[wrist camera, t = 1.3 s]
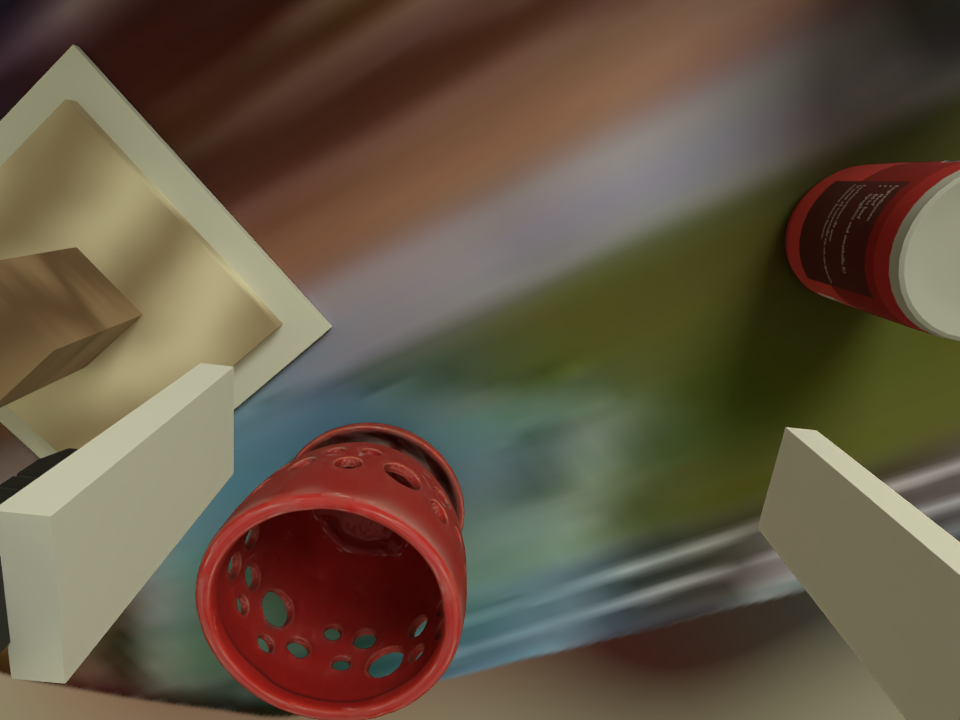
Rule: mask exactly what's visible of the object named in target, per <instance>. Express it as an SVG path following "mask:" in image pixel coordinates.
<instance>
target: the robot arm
mask: <svg viewBox="0 0 960 720" xmlns="http://www.w3.org/2000/svg"><path fill="white" fill-rule="evenodd" d="M233 465H234V367H232V366H223V365H214V364H205V363H200V364H199V365H197V366H196V367H194V368H193V369H192V370H190V371H189V372H187V373H186V374H185V375H183V376H182V377H180V378H179V379H177V380H176V381H175V382H173V383H172V384H170V385H169V386H168V387H166V388H165V389H163V390H162V391H160V392H159V393H158V394H156V395H155V396H153V397H152V398H151V399H149V400H148V401H146V402H145V403H143V404H142V405H141V406H139V407H138V408H136V409H135V410H134V411H132V412H131V413H129V414H128V415H126V416H125V417H124V418H122V419H121V420H119V421H118V422H117V423H115V424H114V425H112V426H111V427H109V428H108V429H107V430H105V431H104V432H102V433H101V434H100V435H98V436H97V437H95V438H94V439H92V440H91V441H90V442H88V443H87V444H85V445H84V446H83V447H81V448H80V449H73V448H68V449H65V450H62V451H60V452H57V453H54V454H51V455H49V456H46V457H43V458H41V459H38V460H37V461H35V462H34V463H32V464H31V465H29V466H28V467H26V468H25V469H23V470H22V471H20V472H19V473H17V477H15V476H13V477H11V478H10V479H8V480H7V481H5V482H4V483H2V484H1V485H0V652H1V651H2V650H3V649H4V648H5V647H6V646H7V645H8V652H9V661H10V669H11V678H12V679H22V680H32V681H43V682H54V683H66V682H67V681H68V680H69V678H70V677H71V676H72V675H73V673H74V672H75V671H76V670H77V668H78V667H79V666H80V665H81V663H82V662H83V661H84V660H85V658H86V657H87V656H88V655H89V653H90V652H91V651H92V650H93V648H94V647H95V646H96V645H97V643H98V642H99V641H100V640H101V638H102V637H103V636H104V635H105V633H106V632H107V631H108V630H109V628H110V627H111V626H112V625H113V623H114V622H115V621H116V620H117V618H118V617H119V616H120V615H121V613H122V612H123V611H124V610H125V608H126V607H127V606H128V605H129V603H130V602H131V601H132V600H133V598H134V597H135V596H136V595H137V593H138V592H139V591H140V590H141V588H142V587H143V586H144V585H145V583H146V582H147V581H148V580H149V578H150V577H151V576H152V575H153V573H154V572H155V571H156V570H157V568H158V567H159V566H160V565H161V563H162V562H163V561H164V560H165V558H166V557H167V556H168V555H169V553H170V552H171V551H172V550H173V548H174V547H175V546H176V545H177V543H178V542H179V541H180V540H181V538H182V537H183V536H184V535H185V533H186V532H187V531H188V530H189V528H190V527H191V526H192V525H193V523H194V522H195V521H196V520H197V518H198V517H199V516H200V515H201V513H202V512H203V511H204V510H205V508H206V507H207V506H208V505H209V503H210V502H211V501H212V500H213V498H214V497H215V496H216V495H217V493H218V492H219V491H220V490H221V488H222V487H223V486H224V485H225V483H226V482H227V481H228V480H229V478H230V477H231V476H232V475H233ZM758 529H759V530H760V531H761V533H762V534H763V535H764V537H765V538H766V539H767V540H768V542H769V543H770V544H771V546H772V547H773V548H774V549H775V551H776V552H777V553H778V555H779V556H780V557H781V559H782V560H783V561H784V562H785V564H786V565H787V566H788V568H789V569H790V570H791V571H792V573H793V574H794V575H795V577H796V578H797V579H798V581H799V582H800V583H801V584H802V586H803V587H804V588H805V590H806V591H807V592H808V593H809V595H810V596H811V597H812V599H813V600H814V601H815V603H816V604H817V605H818V606H819V608H820V609H821V610H822V611H823V613H824V614H825V615H826V617H827V618H828V619H829V621H830V622H831V623H832V625H833V626H834V627H835V628H836V630H837V631H838V632H839V634H840V635H841V636H842V637H843V639H844V640H845V641H846V643H847V644H848V645H849V646H850V648H851V649H852V650H853V652H854V653H855V654H856V656H857V657H858V658H859V659H860V661H861V662H862V663H863V665H864V666H865V667H866V669H867V670H868V671H869V672H870V674H871V675H872V676H873V678H874V679H875V680H876V681H877V683H878V684H879V685H880V687H881V688H882V689H883V691H884V692H885V693H886V694H887V696H888V697H889V698H890V699H891V701H892V702H893V703H894V704H895V706H896V707H897V709H898V710H899V711H900V712H901V714H902V715H903V716H904V718H905V719H906V720H960V542H959V541H958V540H956V539H955V538H954V537H952V536H951V535H950V534H949V533H947V532H946V531H945V530H943V529H942V528H941V527H940V526H938V525H937V524H936V523H934V522H933V521H932V520H931V519H929V518H928V517H927V516H926V515H924V514H923V513H922V512H920V511H919V510H918V509H917V508H915V507H914V506H913V505H911V504H910V503H909V502H908V501H906V500H905V499H904V498H902V497H901V496H900V495H899V494H897V493H896V492H895V491H893V490H892V489H891V488H890V487H888V486H887V485H886V484H885V483H883V482H882V481H881V480H879V479H878V478H877V477H876V476H874V475H873V474H872V473H870V472H869V471H868V470H867V469H865V468H864V467H863V466H861V465H860V464H859V463H858V462H856V461H855V460H854V459H852V458H851V457H850V456H849V455H847V454H846V453H845V452H844V451H842V450H841V449H840V448H838V447H837V446H836V445H835V444H833V443H832V442H831V441H829V440H828V439H827V438H826V437H824V436H823V435H822V434H820V433H819V432H818V431H817V430H807V429H798V428H789V427H785V431H784V434H783V438H782V441H781V445H780V449H779V452H778V456H777V460H776V463H775V467H774V470H773V474H772V478H771V481H770V485H769V489H768V492H767V496H766V499H765V503H764V507H763V510H762V514H761V518H760V521H759V525H758Z"/></svg>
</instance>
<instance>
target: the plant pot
mask: <svg viewBox="0 0 960 720" xmlns="http://www.w3.org/2000/svg"><path fill="white" fill-rule="evenodd" d="M463 523H464V502H463V496H462V492H461V488H460V485H459V483H458V480H457V478H456V476H455V474H454V472H453V470H452V469H451V467H450V466H449V464H448V463H447V461H446V460H445V459H444V457H443V456H442V455H441V454H440V453H439V452H438V451H437V450H436V449H435V448H434V447H433V446H432V445H430V444H429V443H428V442H426V441H425V440H424V439H422V438H421V437H419V436H417V435H415V434H413V433H411V432H409V431H407V430H404V429H402V428H399V427H395V426H391V425H387V424H380V423H356V424H350V425H346V426H342V427H338V428H335V429H332V430H330V431H327V432H325V433H324V434H322V435H320V436H318V437H316V438H315V439H314V440H312V441H311V442H309V443H308V444H307V445H306V446H305V447H304V448H303V449H302V450H301V451H300V452H299V453H298V454H297V456H296V457H295V458H294V460H292V461H291V462H289V463H288V464H286V465H285V466H283V467H282V468H280V469H279V470H278V471H276V472H275V473H274V474H272V475H271V476H270V477H268V478H267V479H266V480H265V481H264V482H263V483H261V484H260V485H259V486H258V487H257V488H256V489H255V490H254V491H253V492H252V493H251V494H250V495H249V496H248V497H247V498H246V499H245V500H244V501H243V502H242V503H241V504H240V505H239V506H238V508H237V509H236V510H235V511H234V512H233V513H232V515H231V516H230V517H229V518H228V520H227V521H226V522H225V523H224V524H223V526H222V527H221V528H220V530H219V531H218V532H217V534H216V535H215V536H214V538H213V539H212V541H211V542H210V544H209V546H208V548H207V550H206V552H205V554H204V556H203V558H202V561H201V564H200V567H199V571H198V575H197V582H196V592H195V596H196V607H197V612H198V617H199V621H200V624H201V627H202V631H203V633H204V636H205V638H206V640H207V642H208V645H209V646H210V648H211V650H212V652H213V653H214V655H215V656H216V658H217V659H218V661H219V662H220V663H221V665H222V666H223V667H224V668H225V669H226V670H227V671H228V673H229V674H230V675H231V676H232V677H233V678H234V679H235V680H236V681H237V682H239V683H240V684H241V685H242V686H243V687H245V688H246V689H247V690H248V691H250V692H251V693H252V694H254V695H255V696H257V697H258V698H260V699H262V700H263V701H265V702H267V703H269V704H271V705H273V706H275V707H277V708H279V709H282V710H284V711H287V712H290V713H293V714H296V715H300V716H304V717H308V718H313V719H319V720H365V719H371V718H376V717H379V716H382V715H385V714H388V713H392V712H395V711H397V710H399V709H401V708H403V707H405V706H407V705H409V704H411V703H412V702H414V701H416V700H417V699H418V698H420V697H421V696H422V695H424V694H425V693H426V692H427V691H428V690H430V688H432V687H433V686H434V684H435V683H436V682H437V681H438V680H439V679H440V678H441V676H442V675H443V674H444V672H445V671H446V670H447V668H448V667H449V665H450V663H451V662H452V660H453V658H454V655H455V653H456V650H457V648H458V645H459V641H460V638H461V633H462V628H463V623H464V617H465V611H466V597H467V583H466V580H467V573H466V554H465V547H464V542H463V538H462V533H461V531H462V528H463ZM250 529H251V532H250V536H249V539H248V541H247V543H246V545H245V540H246V537H247V534H248V532H249V530H250ZM231 557H233V559H232V566H231V570H230V572H229V573H228V566H229V562H230V560H231ZM248 566H249V567H250V569H251V571H252V583H251V586H250V587H248V585H247V583H246V580H245V571H246V569H247V567H248ZM270 591H271V592H274V593H276V594H277V595H278V596H279V597H280V598H281V599H282V601H283V602H284V604H285V606H286V610H287V620H286V622H285V624H284V625H283V626H282V627H276V626H274V625H272V624H271V623H270V622H269V621H268V620H266V618H265V616H264V614H263V608H262V601H263V598H264V596H265V595H266V593H267V592H270ZM237 598H238V599H239V601H240V603H241V613H240V612H239V611H238V608H237ZM426 620H427V623H426V626H425V628H424V630H423V631H422V632H421V634H420V635H419V636H417V637H414V635H415V632H416V630H417V629H418V627H419V626H420V625H421V624H422V623H423V622H424V621H426ZM328 629H335V630H337V631H338V632H339V633H340V638H339V639H337V640H335V641H332V640H328V639H326V638H325V635H324V632H325V631H326V630H328ZM362 635H372V636H374V637H375V638H376V641H375V643H374V644H373V646H371V647H369V648H366V649H362V648H357V647H356V646H355V645H354V642H355V640H356V639H357V638H359V637H360V636H362ZM258 638H261V639H263V640H264V641H265V642H266V643H267V645H268V647H269V652H265V651H263V650H262V649H261V648H260V646H259V645H258ZM290 643H297V644H300V645H302V646H303V647H304V648H305V649H306V650H307V651H308V655H307V656H306V657H304V658H296V657H295V656H293V655H292V654H291V653H290V652H289V651H288V649H287V645H288V644H290ZM423 650H424V651H423ZM422 651H423V653H422V655H421V656H420V657H419V658H418V659H417V660H416V658H417V656H418V655H419V654H420V653H421V652H422ZM393 652H399V653H402V654H404V656H403V660H402V663H401V664H400V666H399V667H398V668H397V669H396V670H395V671H394V672H393V673H391V674H390V675H388V676H385V677H381V678H375V677H372V676H371V675H370V674H369V672H368V671H369V668H370V666H371V665H372V663H373V662H374V661H376V660H377V659H378V658H380V657H382V656H384V655H386V654H389V653H393ZM337 661H345V662H347V663H349V665H350V667H349V668H348V669H346V670H342V671H339V670H335V669H334V668H333V667H332V665H333V664H334V663H335V662H337Z"/></svg>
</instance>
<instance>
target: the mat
mask: <svg viewBox="0 0 960 720" xmlns="http://www.w3.org/2000/svg"><path fill="white" fill-rule="evenodd" d="M65 99H67V100H72V101H77V102H78V103H79V104H80V105H81V106H82V107H83V108H84V110H85V111H86V112H87V113H88V114H89V115H90V116H91V117H92V118H93V119H94V120H95V121H96V123H97V124H98V125H99V126H100V127H101V128H102V129H103V130H104V131H105V132H106V133H107V134H108V135H109V137H110V138H111V139H112V140H113V141H114V142H115V143H116V144H117V145H118V146H119V147H120V148H121V149H122V151H123V152H124V153H125V154H126V155H127V156H128V157H129V158H130V159H131V160H132V161H133V162H134V164H135V165H136V166H137V167H138V168H139V169H140V170H141V171H142V172H143V173H144V174H145V175H146V176H147V178H148V179H149V180H150V181H151V182H152V183H153V184H154V185H155V186H156V187H157V188H158V189H159V190H160V192H161V193H162V194H163V195H164V196H165V197H166V198H167V199H168V200H169V201H170V202H171V203H172V205H173V206H174V207H175V208H176V209H177V210H178V211H179V212H180V213H181V214H182V215H183V216H184V217H185V219H186V220H187V221H188V222H189V223H190V224H191V225H192V226H193V227H194V228H195V229H196V230H197V232H198V233H199V234H200V235H201V236H202V237H203V238H204V239H205V240H206V241H207V242H208V243H209V244H210V246H211V247H212V248H213V249H214V250H215V251H216V252H217V253H218V254H219V255H220V256H221V257H222V258H223V260H224V261H225V262H226V263H227V264H228V265H229V266H230V267H231V268H232V269H233V270H234V271H235V273H236V274H237V275H238V276H239V277H240V278H241V279H242V280H243V281H244V282H245V283H246V284H247V285H248V287H249V288H250V289H251V290H252V291H253V292H254V293H255V294H256V295H257V296H258V297H259V298H260V300H261V301H262V302H263V303H264V304H265V305H266V306H267V307H268V308H269V309H270V310H271V311H272V312H273V314H274V315H275V316H276V317H277V318H278V319H279V320H280V321H281V322H282V323H283V324H282V325H281V326H280V327H278V328H277V329H276V330H275V331H274V332H273V333H272V334H270V335H269V336H268V337H267V338H266V339H265V340H263V341H262V342H261V343H260V344H259V345H258V346H256V347H255V348H254V349H253V350H252V351H251V352H250V353H248V354H247V355H246V356H245V357H244V358H243V359H241V360H240V361H239V362H238V363H237V364H236V365H234V366H233V367H234V409H235V408H237V407H238V406H239V405H240V404H241V403H243V402H244V401H245V400H246V399H247V398H248V397H250V396H251V395H252V394H253V393H254V392H256V391H257V390H258V389H259V388H260V387H261V386H263V385H264V384H265V383H266V382H267V381H269V380H270V379H271V378H272V377H273V376H274V375H276V374H277V373H278V372H279V371H280V370H282V369H283V368H284V367H285V366H286V365H287V364H289V363H290V362H291V361H292V360H293V359H295V358H296V357H297V356H298V355H299V354H300V353H302V352H303V351H304V350H305V349H306V348H308V347H309V346H310V345H311V344H312V343H313V342H315V341H316V340H317V339H318V338H319V337H321V336H322V335H323V334H324V333H325V332H326V331H328V330H329V329H330V328H331V327H332V326H331V324H330V323H329V322H328V321H327V320H326V319H325V318H324V317H323V316H322V314H321V313H320V312H319V311H318V310H317V309H316V308H315V307H314V306H313V305H312V303H311V302H310V301H309V300H308V299H307V298H306V297H305V296H304V295H303V294H302V292H301V291H300V290H299V289H298V288H297V287H296V286H295V285H294V284H293V282H292V281H291V280H290V279H289V278H288V277H287V276H286V275H285V274H284V273H283V271H282V270H281V269H280V268H279V267H278V266H277V265H276V264H275V263H274V261H273V260H272V259H271V258H270V257H269V256H268V255H267V254H266V253H265V252H264V250H263V249H262V248H261V247H260V246H259V245H258V244H257V243H256V242H255V241H254V239H253V238H252V237H251V236H250V235H249V234H248V233H247V232H246V231H245V229H244V228H243V227H242V226H241V225H240V224H239V223H238V222H237V221H236V220H235V218H234V217H233V216H232V215H231V214H230V213H229V212H228V211H227V210H226V209H225V207H224V206H223V205H222V204H221V203H220V202H219V201H218V200H217V199H216V197H215V196H214V195H213V194H212V193H211V192H210V191H209V190H208V189H207V188H206V186H205V185H204V184H203V183H202V182H201V181H200V180H199V179H198V178H197V177H196V175H195V174H194V173H193V172H192V171H191V170H190V169H189V168H188V167H187V165H186V164H185V163H184V162H183V161H182V160H181V159H180V158H179V157H178V156H177V154H176V153H175V152H174V151H173V150H172V149H171V148H170V147H169V146H168V145H167V143H166V142H165V141H164V140H163V139H162V138H161V137H160V136H159V135H158V133H157V132H156V131H155V130H154V129H153V128H152V127H151V126H150V125H149V124H148V122H147V121H146V120H145V119H144V118H143V117H142V116H141V115H140V114H139V112H138V111H137V110H136V109H135V108H134V107H133V106H132V105H131V104H130V103H129V101H128V100H127V99H126V98H125V97H124V96H123V95H122V94H121V93H120V92H119V90H118V89H117V88H116V87H115V86H114V85H113V84H112V83H111V82H110V80H109V79H108V78H107V77H106V76H105V75H104V74H103V73H102V72H101V71H100V69H99V68H98V67H97V66H96V65H95V64H94V63H93V62H92V61H91V60H90V58H89V57H88V56H87V55H86V54H85V53H84V52H83V51H82V50H81V48H80V47H79V46H76V45H72V46H71V47H70V48H69V49H68V50H67V51H66V52H65V54H64V55H63V56H62V57H61V58H60V59H59V60H58V61H57V62H56V63H55V64H54V65H53V66H52V67H51V68H50V69H49V70H48V71H47V72H46V74H45V75H44V76H43V77H42V78H41V79H40V80H39V81H38V82H37V83H36V84H35V85H34V86H33V87H32V88H31V89H30V90H29V91H28V92H27V94H26V95H25V96H24V97H23V98H22V99H21V100H20V101H19V102H18V103H17V104H16V105H15V106H14V107H13V108H12V109H11V110H10V111H9V112H8V114H7V115H6V116H5V117H4V118H3V119H2V120H1V121H0V166H1V165H2V164H3V163H4V162H5V161H6V160H7V159H8V158H9V157H10V156H11V155H12V154H13V153H14V152H15V151H16V150H17V149H18V148H19V147H20V146H21V145H22V144H23V143H24V141H25V140H26V139H27V138H28V137H29V136H30V135H31V134H32V133H33V132H34V131H35V130H36V129H37V128H38V127H39V126H40V125H41V124H42V123H43V122H44V121H45V120H46V119H47V118H48V117H49V116H50V115H51V114H52V113H53V112H54V110H55V109H56V108H57V107H58V106H59V105H60V104H61V103H62V102H63V101H64V100H65ZM0 422H1V423H2V424H3V425H4V426H5V427H7V428H8V429H9V430H10V431H11V432H12V433H13V434H14V435H15V436H16V437H18V438H19V439H20V440H21V441H22V442H23V443H24V444H25V445H26V446H27V447H28V448H30V449H31V450H32V451H33V452H34V453H35V454H36V455H37V456H38V457H39V458H43V457H46V456H49V455H51V454H54V453H57V451H56V450H54V449H53V448H52V447H51V446H50V445H49V444H48V443H47V442H46V441H45V440H44V439H43V438H41V437H40V436H39V435H38V434H37V433H36V432H35V431H34V430H33V429H32V428H31V427H29V426H28V425H27V424H26V423H25V422H24V421H23V420H22V419H21V418H20V417H19V416H18V415H16V414H15V413H14V412H13V411H12V410H11V409H10V408H9V407H8V406H7V405H5V406H3V407H1V408H0Z"/></svg>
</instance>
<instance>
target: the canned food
mask: <svg viewBox="0 0 960 720" xmlns="http://www.w3.org/2000/svg"><path fill="white" fill-rule="evenodd" d="M785 250H786V255H787V260H788V262H789V264H790V266H791V268H792V270H793V272H794V273H795V275H796V276H797V277H798V279H799V280H800V281H801V282H802V284H804V285H805V286H806V287H807V288H809V289H810V290H811V291H812V292H815V293H817V294H819V295H821V296H823V297H825V298H828V299H831V300H834V301H837V302H839V303H842V304H845V305H848V306H851V307H854V308H856V309H859V310H862V311H865V312H868V313H871V314H873V315H876V316H879V317H882V318H885V319H888V320H890V321H893V322H896V323H899V324H902V325H905V326H907V327H910V328H913V329H916V330H919V331H923V332H926V333H929V334H932V335H935V336H939V337H943V338H947V339H954V340H958V341H960V160H954V161H932V162H909V163H887V164H866V165H859V166H852V167H849V168H846V169H843V170H840V171H838V172H836V173H834V174H832V175H830V176H829V177H827V178H825V179H823V180H822V181H820V182H819V183H818V184H816V185H815V186H814V187H812V188H811V189H810V190H809V191H808V192H807V193H806V194H805V195H804V196H803V197H802V198H801V200H800V201H799V202H798V204H797V205H796V207H795V209H794V210H793V212H792V214H791V217H790V219H789V222H788V224H787V229H786V234H785Z"/></svg>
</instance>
